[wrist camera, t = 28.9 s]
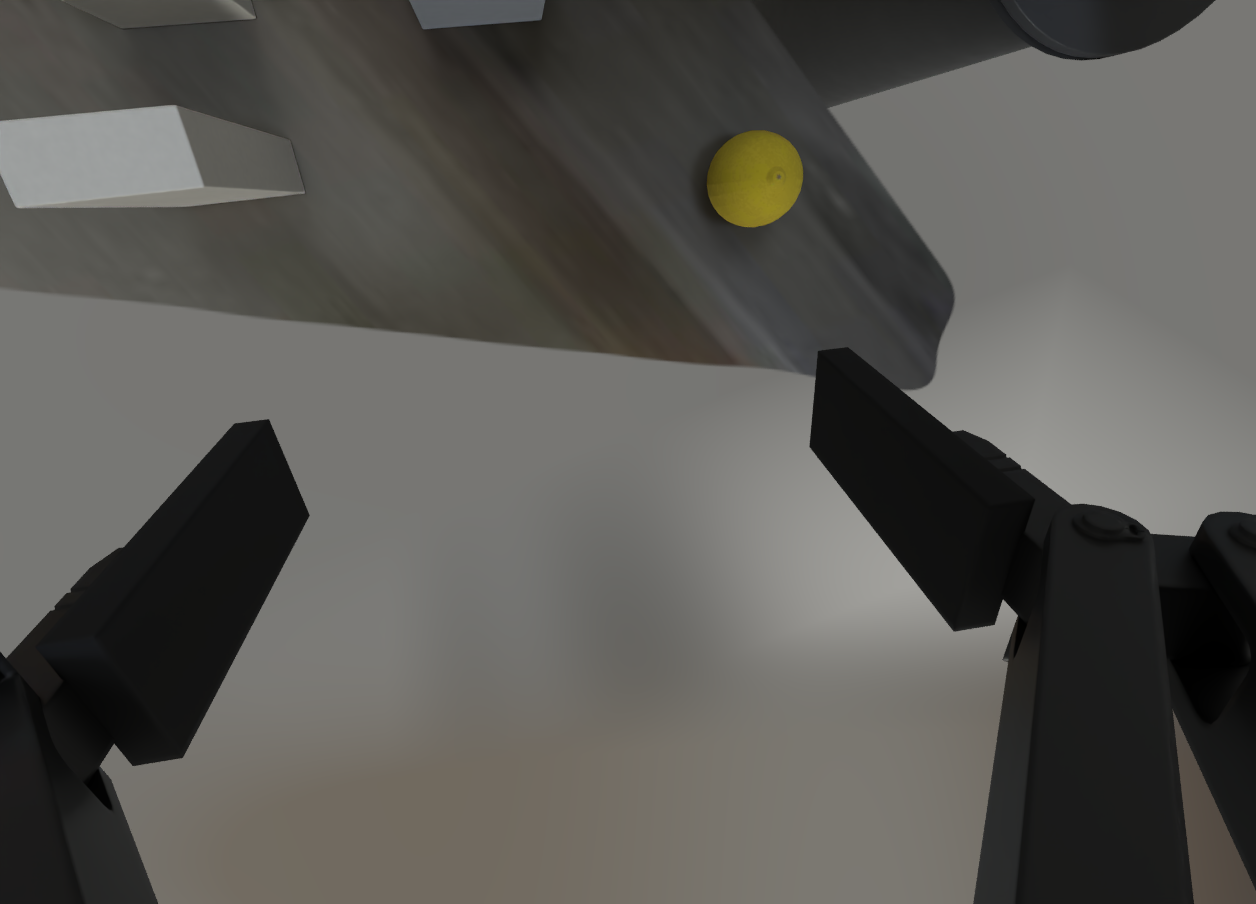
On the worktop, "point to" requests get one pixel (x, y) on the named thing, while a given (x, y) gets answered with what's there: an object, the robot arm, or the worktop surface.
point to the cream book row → (165, 11)
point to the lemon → (754, 178)
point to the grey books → (475, 12)
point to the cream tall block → (142, 160)
